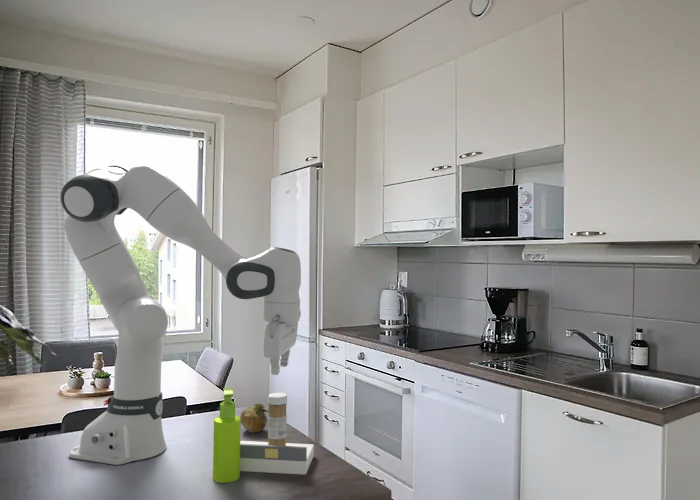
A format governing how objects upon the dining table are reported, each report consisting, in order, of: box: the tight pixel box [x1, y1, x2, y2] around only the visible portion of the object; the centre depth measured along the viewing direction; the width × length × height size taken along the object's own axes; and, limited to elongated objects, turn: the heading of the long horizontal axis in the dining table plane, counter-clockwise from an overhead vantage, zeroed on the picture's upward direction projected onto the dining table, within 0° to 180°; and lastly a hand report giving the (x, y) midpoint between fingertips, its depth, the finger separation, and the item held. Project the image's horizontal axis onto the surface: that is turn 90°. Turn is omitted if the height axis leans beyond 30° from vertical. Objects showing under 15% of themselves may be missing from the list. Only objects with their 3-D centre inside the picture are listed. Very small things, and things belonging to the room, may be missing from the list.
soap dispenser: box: [212, 387, 242, 484], centre depth 118 cm, size 6×7×20 cm
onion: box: [239, 403, 269, 434], centre depth 150 cm, size 8×8×8 cm
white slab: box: [240, 440, 315, 475], centre depth 127 cm, size 20×11×6 cm, turn 84°
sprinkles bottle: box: [267, 392, 288, 446], centre depth 127 cm, size 5×5×13 cm
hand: (279, 370), depth 129 cm, fingers open, 8 cm apart
